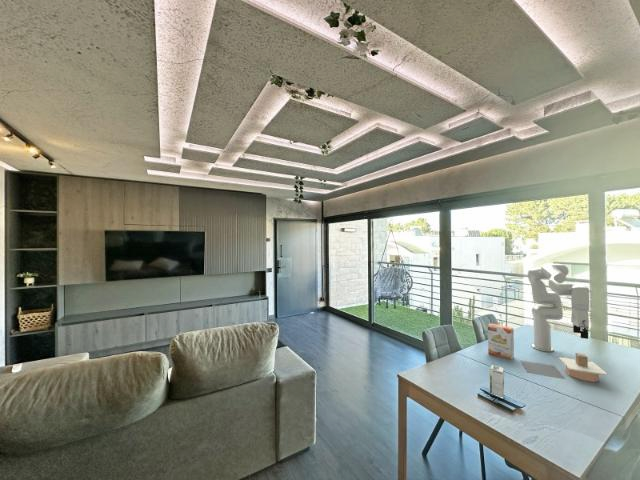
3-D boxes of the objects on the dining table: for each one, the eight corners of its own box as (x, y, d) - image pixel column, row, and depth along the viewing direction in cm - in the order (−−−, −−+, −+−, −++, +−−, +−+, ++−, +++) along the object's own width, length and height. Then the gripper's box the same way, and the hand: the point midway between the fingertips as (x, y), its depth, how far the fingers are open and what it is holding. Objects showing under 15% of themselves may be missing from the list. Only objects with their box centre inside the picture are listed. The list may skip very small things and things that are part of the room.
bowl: (563, 369, 162) (563, 359, 162) (591, 374, 156) (591, 364, 156) (572, 379, 150) (571, 369, 150) (602, 384, 144) (602, 374, 145)
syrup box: (491, 391, 140) (490, 364, 140) (504, 395, 136) (504, 367, 136) (489, 396, 135) (489, 368, 135) (503, 400, 131) (503, 371, 131)
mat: (519, 360, 174) (519, 360, 174) (554, 366, 166) (554, 365, 166) (526, 373, 158) (526, 372, 158) (565, 380, 150) (565, 379, 150)
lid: (558, 358, 164) (558, 347, 164) (593, 363, 157) (593, 352, 157) (569, 369, 150) (569, 357, 150) (607, 375, 143) (607, 363, 143)
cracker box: (487, 353, 186) (487, 324, 186) (491, 351, 189) (490, 322, 189) (511, 360, 174) (510, 329, 175) (514, 358, 178) (513, 327, 178)
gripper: (566, 302, 163) (566, 329, 163) (578, 309, 148) (578, 339, 148) (582, 304, 160) (582, 331, 160) (596, 311, 144) (596, 341, 144)
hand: (580, 335), depth 154 cm, fingers open, 9 cm apart
